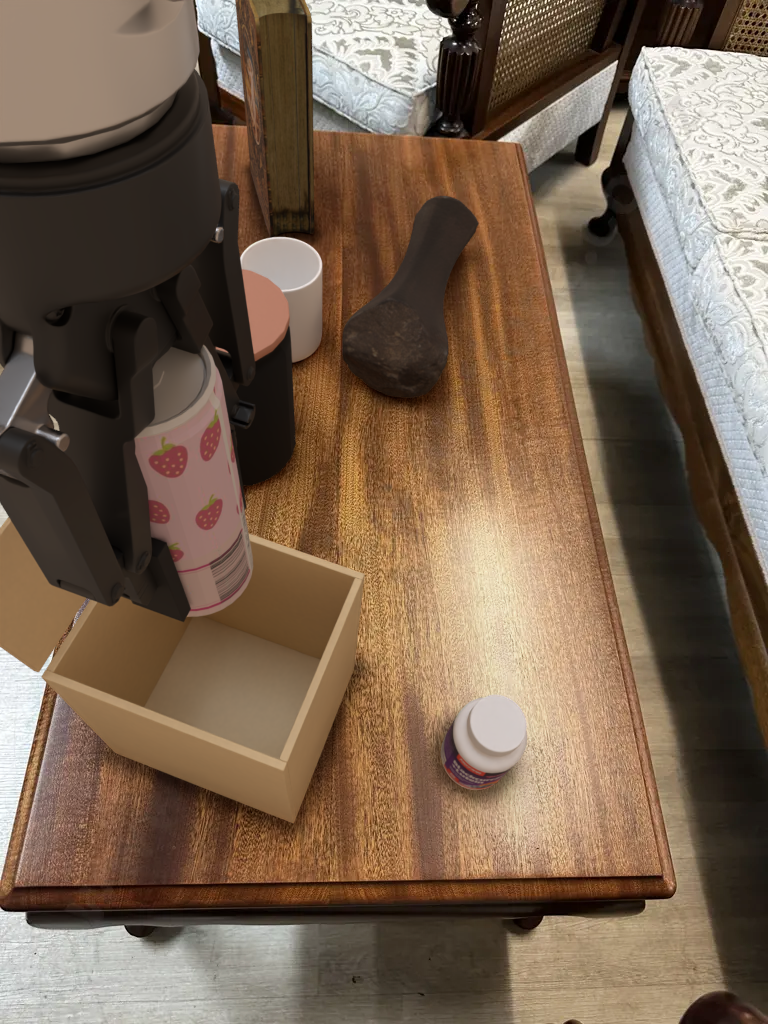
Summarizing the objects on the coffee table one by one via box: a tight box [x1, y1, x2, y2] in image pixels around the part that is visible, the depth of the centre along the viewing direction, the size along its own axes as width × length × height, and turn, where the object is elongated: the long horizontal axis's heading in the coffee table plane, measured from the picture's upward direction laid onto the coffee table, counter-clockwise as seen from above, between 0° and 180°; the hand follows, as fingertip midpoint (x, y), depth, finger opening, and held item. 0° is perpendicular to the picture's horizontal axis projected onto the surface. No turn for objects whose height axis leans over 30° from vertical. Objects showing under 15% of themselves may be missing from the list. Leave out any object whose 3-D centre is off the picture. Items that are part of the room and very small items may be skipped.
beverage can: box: [134, 345, 253, 617], centre depth 32 cm, size 6×6×15 cm
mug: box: [240, 236, 323, 363], centre depth 76 cm, size 12×8×10 cm
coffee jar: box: [216, 269, 297, 487], centre depth 65 cm, size 11×11×18 cm
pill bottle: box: [440, 694, 528, 791], centre depth 54 cm, size 5×5×10 cm
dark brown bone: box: [341, 195, 480, 399], centre depth 81 cm, size 11×10×28 cm
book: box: [234, 0, 315, 238], centre depth 83 cm, size 16×6×25 cm, turn 15°
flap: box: [0, 516, 87, 673], centre depth 41 cm, size 7×13×1 cm
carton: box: [41, 533, 366, 824], centre depth 51 cm, size 15×13×18 cm
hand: (192, 552), depth 36 cm, fingers closed on beverage can, 6 cm apart
